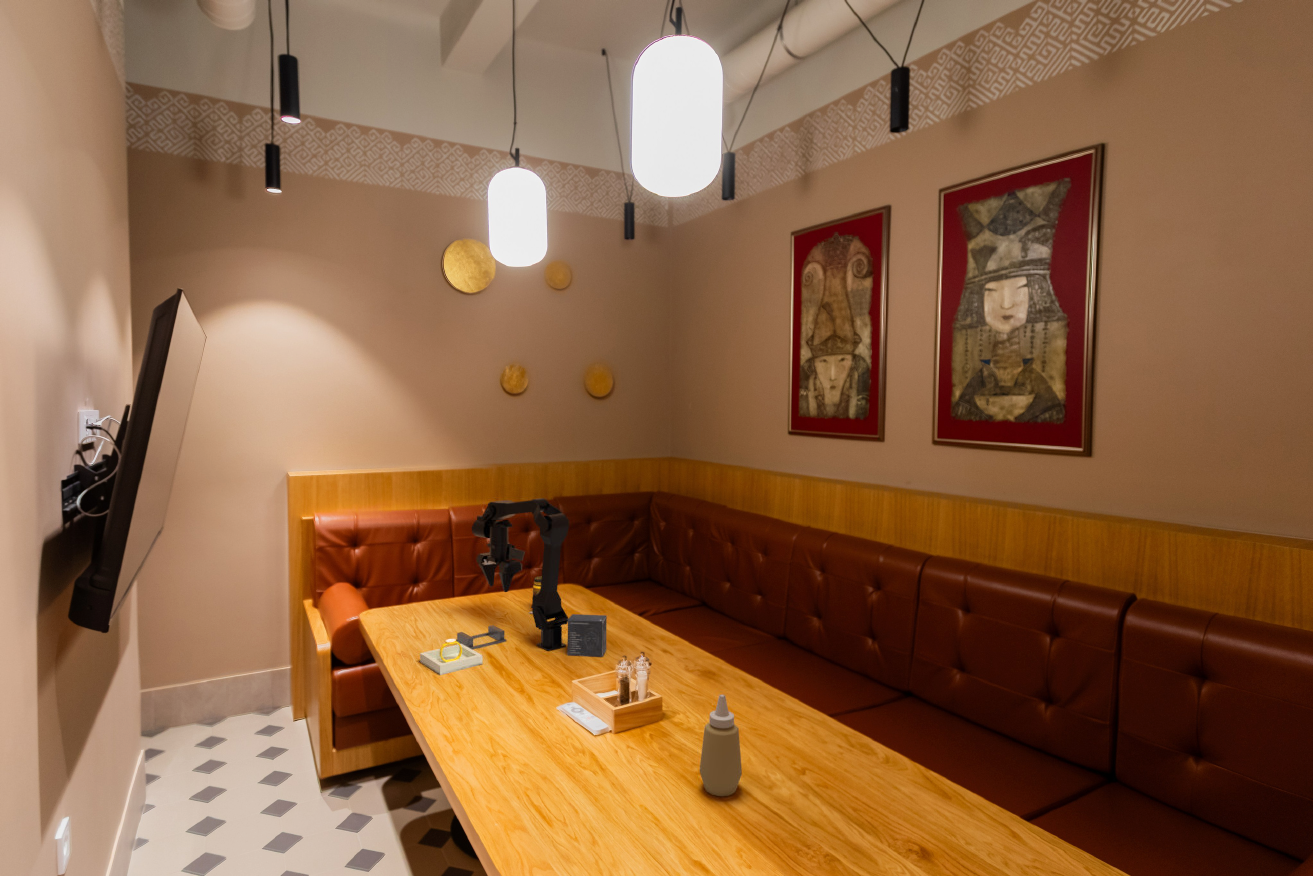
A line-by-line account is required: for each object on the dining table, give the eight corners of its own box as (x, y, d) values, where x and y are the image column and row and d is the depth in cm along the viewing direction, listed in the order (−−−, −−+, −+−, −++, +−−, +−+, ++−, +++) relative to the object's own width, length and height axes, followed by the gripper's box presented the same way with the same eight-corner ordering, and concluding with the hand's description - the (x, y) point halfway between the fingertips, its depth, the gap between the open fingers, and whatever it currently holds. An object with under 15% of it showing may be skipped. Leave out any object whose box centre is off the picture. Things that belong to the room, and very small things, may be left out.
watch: (442, 665, 197) (440, 644, 196) (439, 662, 199) (437, 641, 199) (463, 660, 200) (462, 639, 199) (460, 657, 202) (459, 636, 202)
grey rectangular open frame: (506, 641, 218) (506, 631, 218) (470, 650, 210) (470, 639, 210) (490, 633, 225) (490, 624, 225) (455, 641, 217) (455, 632, 217)
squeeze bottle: (714, 773, 142) (716, 684, 141) (749, 788, 137) (752, 695, 136) (690, 790, 136) (692, 696, 135) (726, 806, 131) (728, 708, 130)
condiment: (527, 613, 247) (528, 578, 247) (540, 607, 255) (540, 573, 255) (546, 615, 245) (546, 581, 244) (558, 609, 253) (558, 575, 252)
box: (606, 649, 212) (607, 615, 212) (603, 657, 206) (603, 621, 205) (571, 648, 213) (571, 613, 213) (566, 655, 207) (566, 620, 206)
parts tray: (482, 664, 199) (482, 655, 199) (440, 675, 190) (440, 665, 190) (461, 652, 208) (461, 643, 208) (420, 662, 200) (420, 653, 200)
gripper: (536, 541, 226) (536, 590, 227) (506, 533, 240) (506, 579, 241) (505, 546, 219) (505, 596, 220) (475, 537, 233) (475, 584, 233)
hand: (498, 589), depth 229 cm, fingers open, 9 cm apart
